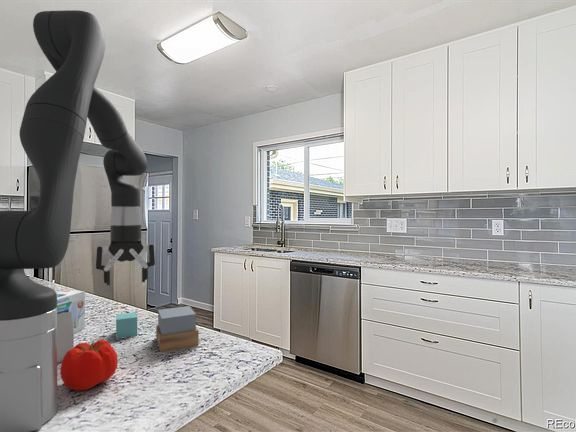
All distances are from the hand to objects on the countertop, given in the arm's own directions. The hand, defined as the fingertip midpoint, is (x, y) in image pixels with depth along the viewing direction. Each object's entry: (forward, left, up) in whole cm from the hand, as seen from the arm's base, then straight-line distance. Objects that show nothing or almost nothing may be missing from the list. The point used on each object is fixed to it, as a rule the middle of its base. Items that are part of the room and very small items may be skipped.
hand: (126, 283), depth 91 cm
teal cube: (0, 0, -14) cm, 14 cm away
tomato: (-26, +7, -14) cm, 30 cm away
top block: (-12, -11, -10) cm, 19 cm away
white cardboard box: (-10, +15, -14) cm, 23 cm away
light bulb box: (+8, +16, -14) cm, 23 cm away
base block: (-12, -11, -14) cm, 22 cm away
